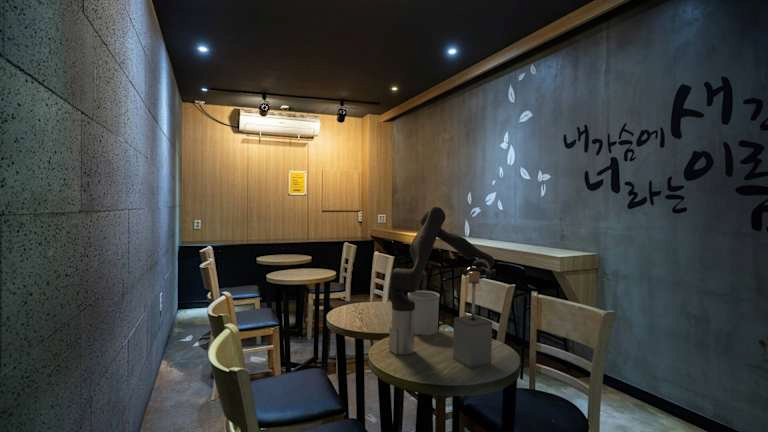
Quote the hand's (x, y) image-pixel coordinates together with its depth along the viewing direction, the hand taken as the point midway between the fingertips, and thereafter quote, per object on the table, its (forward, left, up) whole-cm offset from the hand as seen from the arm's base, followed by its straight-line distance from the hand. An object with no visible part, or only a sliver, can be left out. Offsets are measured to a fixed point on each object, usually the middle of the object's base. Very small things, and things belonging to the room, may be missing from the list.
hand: (476, 274), depth 163 cm
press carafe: (-5, -5, -32) cm, 33 cm away
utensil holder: (-2, +35, -32) cm, 47 cm away
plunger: (-5, -5, -21) cm, 22 cm away
